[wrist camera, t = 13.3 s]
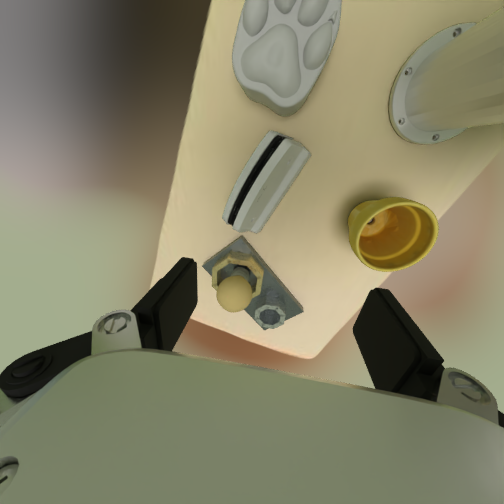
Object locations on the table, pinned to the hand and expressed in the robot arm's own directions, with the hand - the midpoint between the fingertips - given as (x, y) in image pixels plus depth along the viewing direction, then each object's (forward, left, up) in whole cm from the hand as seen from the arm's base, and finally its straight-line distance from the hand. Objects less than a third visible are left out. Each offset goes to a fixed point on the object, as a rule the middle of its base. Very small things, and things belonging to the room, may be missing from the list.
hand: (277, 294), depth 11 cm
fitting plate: (+16, +13, -28) cm, 35 cm away
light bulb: (+16, +8, -27) cm, 32 cm away
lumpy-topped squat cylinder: (-12, -15, -29) cm, 34 cm away
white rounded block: (+1, -3, -29) cm, 29 cm away
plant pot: (-10, +13, -28) cm, 33 cm away
